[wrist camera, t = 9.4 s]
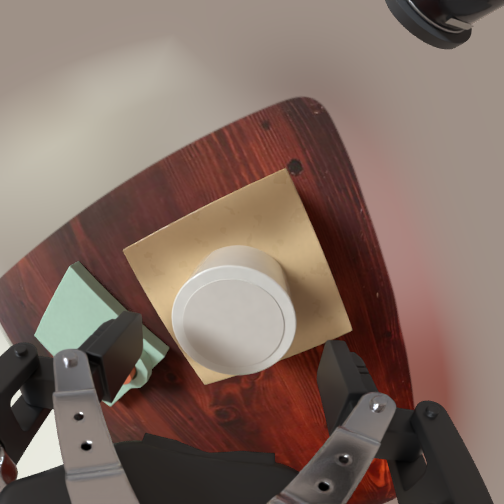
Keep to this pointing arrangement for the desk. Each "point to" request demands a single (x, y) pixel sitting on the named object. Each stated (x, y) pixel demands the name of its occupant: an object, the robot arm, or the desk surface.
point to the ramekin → (235, 311)
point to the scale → (91, 322)
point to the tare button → (130, 376)
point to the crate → (253, 235)
